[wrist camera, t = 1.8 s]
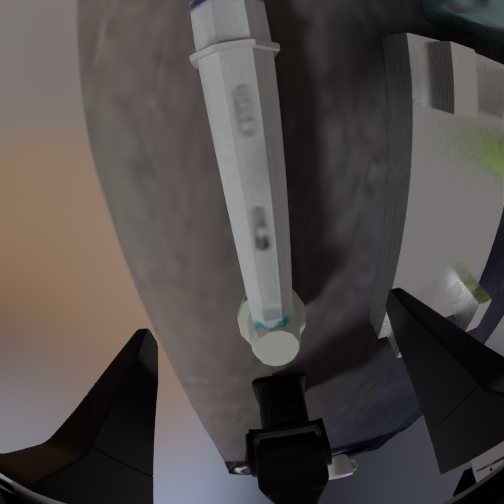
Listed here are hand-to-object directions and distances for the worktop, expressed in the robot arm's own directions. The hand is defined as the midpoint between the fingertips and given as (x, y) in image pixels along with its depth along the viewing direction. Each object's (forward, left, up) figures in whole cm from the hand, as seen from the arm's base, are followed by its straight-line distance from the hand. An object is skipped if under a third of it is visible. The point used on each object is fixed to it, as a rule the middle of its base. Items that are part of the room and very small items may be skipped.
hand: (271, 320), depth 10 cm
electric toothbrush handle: (0, 0, -11) cm, 11 cm away
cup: (-87, -16, -11) cm, 89 cm away
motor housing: (+1, -16, -11) cm, 19 cm away
